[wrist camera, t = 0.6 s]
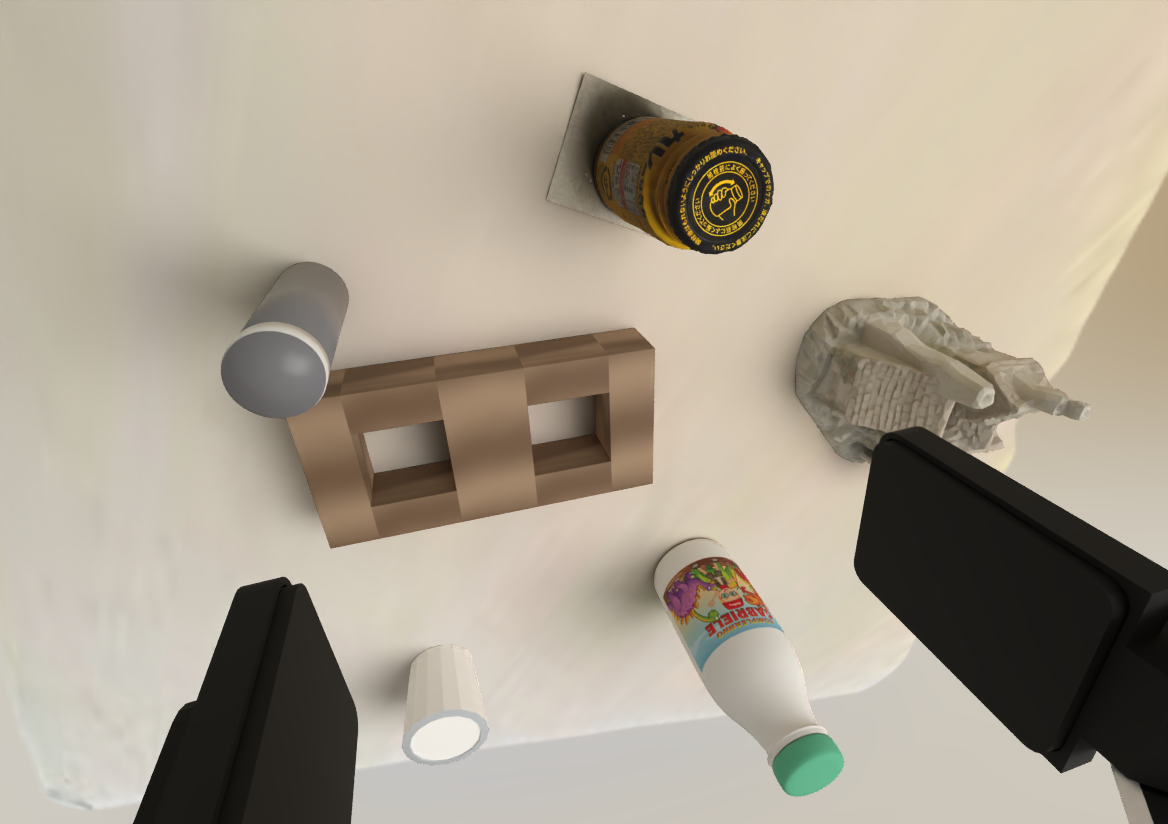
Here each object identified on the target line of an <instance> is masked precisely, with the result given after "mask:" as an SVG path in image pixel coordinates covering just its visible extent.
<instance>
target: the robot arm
mask: <svg viewBox="0 0 1168 824" xmlns="http://www.w3.org/2000/svg"><path fill="white" fill-rule="evenodd" d="M854 567H855V571H856V574H857V576H858V577H859V579H860V580H861V582H862V583H863V584H864V585H865V586H866V587H867V588H868V589H869V590H870V591H871V592H872V593H873V594H874V595H875V596H876V597H877V598H878V599H879V600H880V601H881V602H882V603H883V604H884V605H885V606H886V607H887V608H888V609H889V610H890V611H891V612H892V613H893V614H894V615H895V616H896V617H897V618H898V619H899V620H900V621H901V622H902V623H903V624H904V625H905V626H906V627H907V628H908V629H909V630H910V631H911V632H912V633H913V634H914V635H915V636H916V637H917V638H918V639H919V640H920V641H921V642H922V643H923V644H924V645H925V646H926V647H927V648H928V649H929V650H930V651H931V652H932V653H933V654H934V655H935V656H936V657H937V658H938V659H939V660H940V661H941V662H942V663H943V664H944V665H945V666H946V667H947V668H948V669H949V670H950V671H951V672H952V673H953V674H954V675H955V676H956V677H957V678H958V679H959V680H960V681H961V682H962V683H963V684H964V685H965V686H966V687H967V688H968V689H969V690H970V691H971V692H972V693H973V694H974V695H975V696H976V697H977V698H978V699H979V700H980V701H981V702H982V703H983V704H984V705H985V706H986V707H987V708H988V709H989V710H990V711H991V712H992V713H993V714H994V715H995V716H996V717H997V718H998V719H999V720H1000V721H1001V722H1002V723H1003V724H1004V725H1005V726H1006V727H1007V728H1008V729H1009V730H1010V731H1011V732H1012V733H1013V734H1014V735H1015V736H1016V737H1017V738H1018V739H1019V740H1020V741H1021V742H1022V743H1023V744H1024V745H1025V746H1026V747H1028V748H1029V749H1031V750H1033V751H1034V752H1037V753H1040V754H1042V755H1043V756H1044V757H1045V758H1046V759H1047V760H1048V761H1049V762H1050V763H1051V764H1052V765H1053V766H1054V767H1055V768H1056V769H1057V770H1058V771H1059V772H1060V773H1063V772H1066V771H1068V770H1071V769H1073V768H1076V767H1078V766H1081V765H1083V764H1086V763H1088V762H1091V760H1092V759H1093V757H1094V755H1095V753H1096V751H1098V752H1099V753H1100V754H1101V755H1102V756H1104V757H1105V758H1106V759H1107V760H1108V761H1109V762H1110V763H1111V768H1112V772H1113V775H1114V777H1115V781H1116V784H1117V787H1118V790H1119V793H1120V796H1121V799H1122V802H1123V806H1124V809H1125V812H1126V815H1127V818H1128V821H1129V824H1168V570H1167V569H1165V568H1163V567H1162V566H1160V565H1158V564H1156V563H1155V562H1153V561H1151V560H1150V559H1148V558H1146V557H1144V556H1143V555H1141V554H1139V553H1138V552H1136V551H1134V550H1133V549H1131V548H1129V547H1127V546H1126V545H1124V544H1122V543H1120V542H1119V541H1117V540H1115V539H1114V538H1112V537H1110V536H1108V535H1107V534H1105V533H1103V532H1102V531H1100V530H1098V529H1097V528H1095V527H1093V526H1091V525H1090V524H1088V523H1086V522H1085V521H1083V520H1081V519H1079V518H1078V517H1076V516H1074V515H1073V514H1071V513H1069V512H1067V511H1066V510H1064V509H1062V508H1061V507H1059V506H1057V505H1056V504H1054V503H1052V502H1050V501H1048V500H1047V499H1045V498H1044V497H1042V496H1040V495H1038V494H1037V493H1035V492H1033V491H1032V490H1030V489H1028V488H1027V487H1025V486H1023V485H1021V484H1019V483H1018V482H1016V481H1015V480H1013V479H1011V478H1009V477H1008V476H1006V475H1004V474H1003V473H1001V472H999V471H997V470H996V469H994V468H992V467H991V466H989V465H987V464H985V463H984V462H982V461H980V460H979V459H977V458H975V457H973V456H972V455H970V454H968V453H967V452H965V451H963V450H962V449H960V448H958V447H956V446H955V445H953V444H951V443H950V442H948V441H946V440H944V439H943V438H941V437H939V436H938V435H936V434H934V433H932V432H931V431H929V430H927V429H925V428H923V427H920V426H914V427H910V428H906V429H901V430H897V431H893V432H889V433H886V434H884V435H883V436H882V437H881V439H880V441H879V444H877V445H876V446H875V448H874V450H873V455H872V460H871V466H870V472H869V477H868V483H867V489H866V495H865V500H864V506H863V512H862V517H861V523H860V529H859V535H858V540H857V546H856V552H855V557H854ZM357 738H358V718H357V712H356V707H355V704H354V701H353V699H352V697H351V694H350V692H349V689H348V687H347V685H346V682H345V680H344V677H343V675H342V673H341V670H340V668H339V665H338V663H337V661H336V658H335V656H334V653H333V651H332V649H331V646H330V644H329V641H328V639H327V637H326V634H325V632H324V629H323V627H322V625H321V622H320V620H319V617H318V615H317V613H316V610H315V608H314V605H313V603H312V601H311V598H310V596H309V593H308V591H307V589H306V587H305V586H304V585H303V584H301V583H300V584H296V585H292V584H291V583H290V581H289V580H288V579H287V578H286V577H280V578H276V579H272V580H268V581H263V582H259V583H255V584H251V585H247V586H242V587H240V588H239V589H238V590H237V592H236V594H235V596H234V599H233V601H232V604H231V607H230V610H229V612H228V615H227V618H226V621H225V623H224V626H223V629H222V632H221V634H220V637H219V640H218V643H217V645H216V648H215V651H214V654H213V656H212V659H211V662H210V665H209V667H208V670H207V673H206V676H205V679H204V681H203V684H202V687H201V690H200V692H199V695H198V698H197V701H193V702H190V703H186V704H185V705H184V706H183V707H182V708H181V709H180V710H179V711H178V713H177V715H176V717H175V719H174V721H173V723H172V725H171V727H170V730H169V733H168V735H167V738H166V740H165V743H164V745H163V748H162V751H161V753H160V756H159V758H158V761H157V763H156V766H155V768H154V771H153V774H152V776H151V779H150V781H149V784H148V786H147V789H146V792H145V794H144V797H143V799H142V802H141V804H140V807H139V810H138V812H137V815H136V817H135V820H134V822H133V824H351V814H352V801H353V789H354V776H355V763H356V751H357Z"/></svg>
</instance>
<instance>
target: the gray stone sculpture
mask: <svg viewBox="0 0 1168 824" xmlns="http://www.w3.org/2000/svg"><path fill="white" fill-rule="evenodd" d="M795 378H796V381H795V382H796V395H797V397H798V398H799V400H800V401H801V403H802V404H803V406H804V407H805V409H806V410H807V412H808V413H809V414H810V415H811V417H812V419H813V420H814V421H815V423H817V427H818V428H820V429H821V430H822V433H823V434H824V436H825V437H826V439H827V440H828V442H829V443H830V445H831V446H832V448H833V449H834V451H835V453H837V454H838V455H840V456H841V457H842V458H844V459H847V460H849V461H851V462H855V461H856V462H859V463H863V462H865V461H867V462H868V463H869V464H871V460H872V455H873V450H874V448H875V446H876V445H877V444H879V441H880V439H881V437H882V436H883V435H884V434H886V433H889V432H893V431H897V430H901V429H906V428H910V427H914V426H920V427H923V428H925V429H927V430H929V431H931V432H932V433H934V434H936V435H938V436H939V437H941V438H943V439H944V440H946V441H948V442H950V443H951V444H953V445H955V446H956V447H958V448H960V449H962V450H963V451H965V452H967V453H968V454H970V455H971V454H972V453H979V452H986V453H987V452H989V451H994V450H999V449H1002V448H1005V447H1004V444H1003V441H1002V440H1001V439H1000V438H999V436H998V434H997V432H996V428H997V425H998V424H999V423H1001V422H1003V421H1006V420H1010V419H1013V418H1016V419H1018V418H1019V417H1021V416H1022V415H1024V414H1027V413H1036V412H1039V411H1043V412H1046V413H1048V414H1051V415H1057V416H1059V415H1064V416H1066V417H1069V418H1071V419H1075V420H1087V418H1088V416H1089V414H1090V404H1087V403H1083V402H1080V401H1073V400H1072V399H1071V398H1070V397H1069V396H1068V395H1067V394H1066V393H1064V392H1062V391H1060V390H1059V389H1054V388H1053V387H1052V386H1051V385H1050V383H1049V382H1048V380H1047V378H1046V376H1045V373H1044V370H1043V368H1042V367H1041V365H1040V364H1039V363H1038V362H1036V361H1035V360H1034V359H1033V358H1015V357H1013V356H1010V355H1007V354H1004V353H1001V352H998V351H995V350H994V349H993V348H992V345H991V343H990V342H984V341H982V340H981V339H980V337H977V336H973V335H971V333H970V332H969V331H967V330H966V329H964V328H959V327H957V326H956V324H955V323H953V322H952V320H951V318H950V317H949V316H948V315H947V314H946V313H945V312H943V311H942V310H941V309H939V307H938V306H937V305H935V304H934V303H932V302H930V301H928V300H926V299H924V298H920V297H912V298H898V299H897V298H893V299H886V298H875V299H857V300H845V301H841V302H839V303H837V304H836V305H834V306H832V307H830V308H827V311H824V312H823V313H822V314H821V316H819V317H818V318H817V319H816V321H815V322H814V323H813V324H812V325H811V327H810V329H809V330H808V331H807V332H806V333H805V336H804V338H803V341H802V344H801V347H800V350H799V353H798V357H797V365H796V374H795Z"/></svg>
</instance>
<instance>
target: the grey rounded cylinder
mask: <svg viewBox="0 0 1168 824" xmlns="http://www.w3.org/2000/svg"><path fill="white" fill-rule="evenodd" d="M348 302H349V295H348V290H347V287H346V285H345V283H344V281H343V280H342V279H341V277H340V276H339V275H338V274H337V273H336V272H334V271H333V270H332V269H330V268H328V267H326V266H324V265H322V264H318V263H313V262H303V263H298V264H295V265H293V266H291V267H289V268H288V269H286V270H285V271H284V272H283V273H282V274H281V276H280V277H279V279H278V280H277V281H276V283H275V284H274V286H273V287H272V289H271V290H270V291H269V293H268V294H267V296H266V297H265V298H264V300H263V301H262V303H261V304H260V305H259V307H258V308H257V310H256V311H255V313H254V314H253V315H252V317H251V318H250V320H249V321H248V322H247V324H246V325H245V327H244V328H243V330H242V331H241V332H240V334H238V335H237V336H236V338H235V339H234V340H233V341H232V343H231V344H230V346H229V347H228V348H227V350H226V352H225V353H224V356H223V359H222V363H221V376H222V381H223V384H224V386H225V388H226V390H227V392H228V393H229V395H230V396H231V397H232V398H233V399H234V400H235V401H236V402H237V403H238V404H239V405H241V406H242V407H243V408H245V409H247V410H248V411H250V412H253V413H255V414H258V415H261V416H265V417H270V418H289V417H293V416H297V415H300V414H302V413H304V412H306V411H308V410H309V409H311V408H312V407H313V406H314V405H315V404H317V403H318V401H319V400H320V399H321V397H322V396H323V394H324V392H325V390H326V386H327V382H328V379H329V375H330V367H331V364H332V360H333V357H334V353H335V350H336V346H337V343H338V339H339V335H340V332H341V328H342V325H343V321H344V318H345V314H346V311H347V307H348Z"/></svg>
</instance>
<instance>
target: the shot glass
mask: <svg viewBox="0 0 1168 824" xmlns="http://www.w3.org/2000/svg"><path fill="white" fill-rule="evenodd" d="M488 731H489V726H488V722H487V718H486V713H485V709H484V705H483V700H482V696H481V692H480V687H479V683H478V679H477V674H476V670H475V666H474V662H473V659H472V656H471V653H469V652H468V651H467V650H466V649H464V648H463V647H459V646H455V645H439V646H436V647H433V648H430V649H427V650H426V651H424V652H422V653H421V654H419V655H418V656H417V657H416V658H415V660H414V661H413V662H412V664H411V668H410V674H409V684H408V693H407V703H406V713H405V722H404V732H403V741H402V749H403V751H404V753H405V754H406V756H407V757H408V758H410V759H411V760H413V761H415V762H417V763H420V764H427V765H440V764H449V763H451V762H455V761H458V760H461V759H463V758H465V757H467V756H468V755H470V754H472V753H473V752H475V751H477V750H478V749H479V748H480V746H481V745H482V744H483V743H484V742H485V741H486V739H487V735H488Z"/></svg>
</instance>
